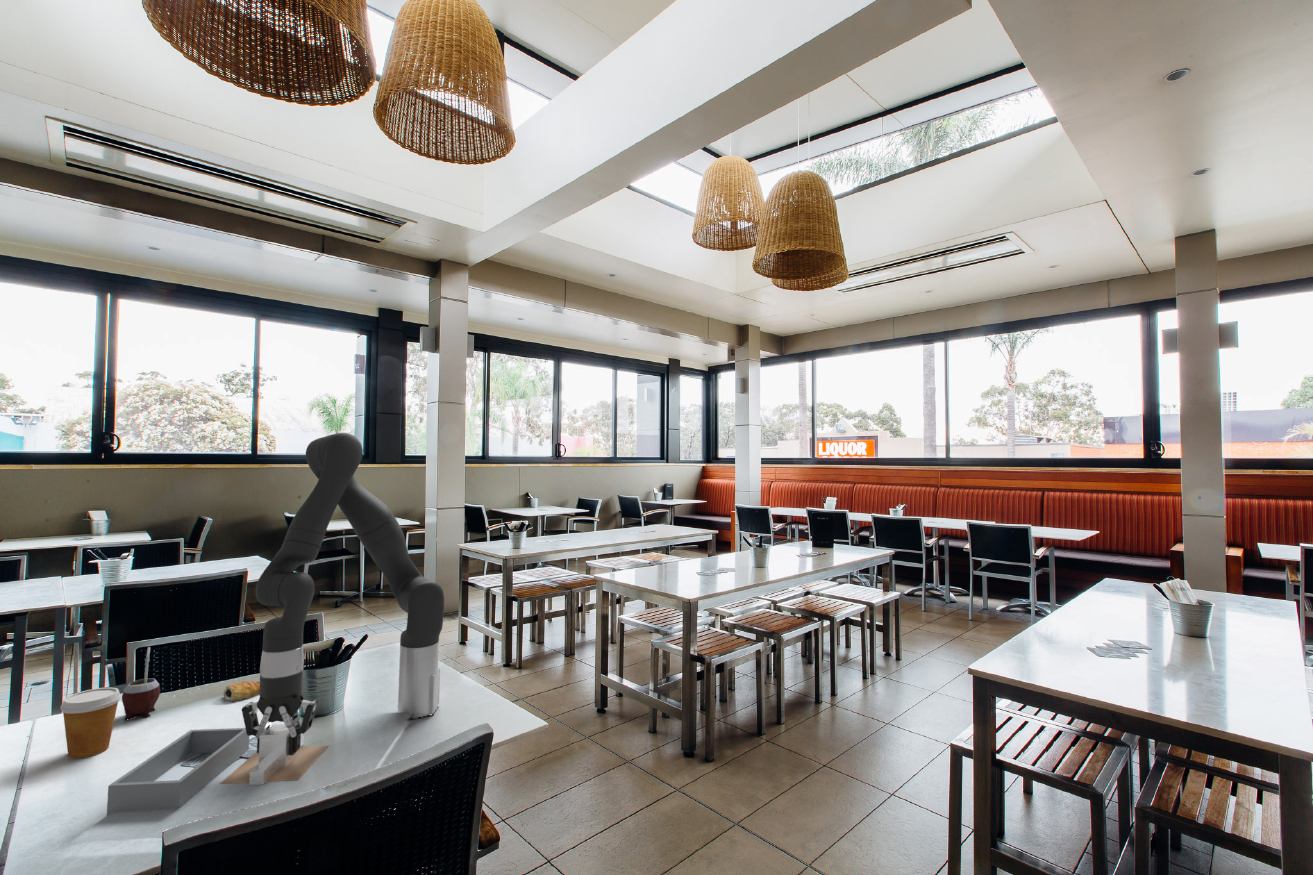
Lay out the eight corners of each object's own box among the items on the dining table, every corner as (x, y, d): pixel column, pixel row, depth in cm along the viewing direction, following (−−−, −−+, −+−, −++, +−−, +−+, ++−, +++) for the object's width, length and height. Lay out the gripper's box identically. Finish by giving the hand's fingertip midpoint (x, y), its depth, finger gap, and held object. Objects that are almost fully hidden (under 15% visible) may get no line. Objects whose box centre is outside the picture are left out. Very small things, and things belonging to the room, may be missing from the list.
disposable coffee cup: (129, 745, 129) (132, 690, 130) (74, 766, 120) (77, 706, 121) (101, 738, 132) (104, 684, 133) (46, 758, 123) (49, 699, 124)
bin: (189, 758, 124) (190, 729, 124) (248, 756, 125) (249, 727, 125) (106, 820, 102) (108, 785, 103) (178, 816, 104) (180, 782, 104)
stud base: (329, 752, 127) (330, 722, 127) (297, 787, 113) (298, 754, 114) (260, 755, 126) (261, 725, 126) (219, 791, 112) (221, 758, 112)
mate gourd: (133, 723, 140) (136, 659, 140) (111, 718, 142) (115, 655, 143) (167, 710, 147) (170, 650, 148) (146, 706, 149) (149, 646, 150)
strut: (285, 745, 127) (286, 713, 127) (309, 744, 128) (310, 712, 128) (242, 785, 111) (243, 748, 112) (270, 784, 112) (271, 747, 112)
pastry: (259, 687, 163) (260, 673, 164) (271, 692, 160) (272, 678, 160) (220, 698, 155) (221, 683, 156) (232, 704, 152) (233, 689, 152)
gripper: (327, 662, 125) (323, 743, 124) (254, 664, 123) (251, 746, 122) (310, 675, 117) (307, 761, 117) (233, 677, 116) (229, 765, 115)
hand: (278, 753), depth 120 cm, fingers closed on strut, 5 cm apart
